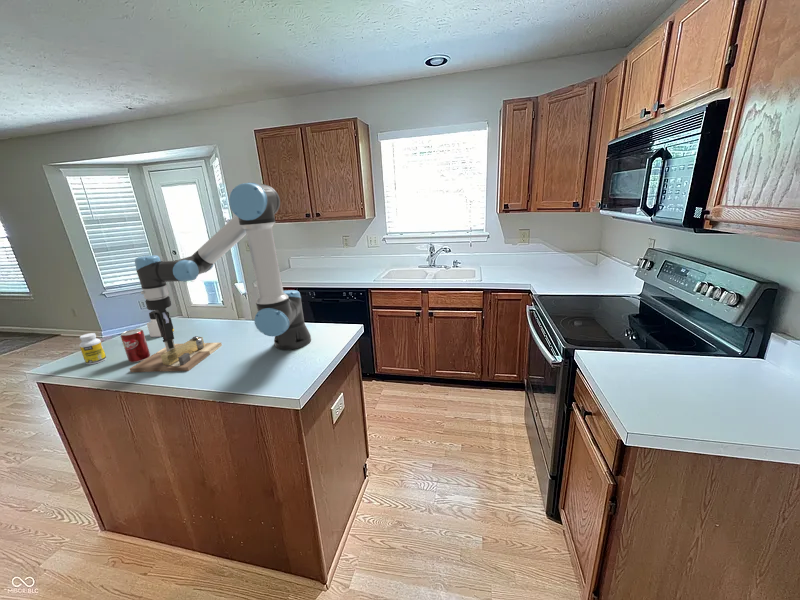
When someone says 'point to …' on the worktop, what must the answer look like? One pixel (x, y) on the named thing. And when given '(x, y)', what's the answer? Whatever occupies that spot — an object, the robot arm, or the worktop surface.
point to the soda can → (135, 345)
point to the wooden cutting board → (182, 364)
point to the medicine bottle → (154, 326)
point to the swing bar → (182, 350)
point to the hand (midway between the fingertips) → (172, 354)
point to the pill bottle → (92, 349)
